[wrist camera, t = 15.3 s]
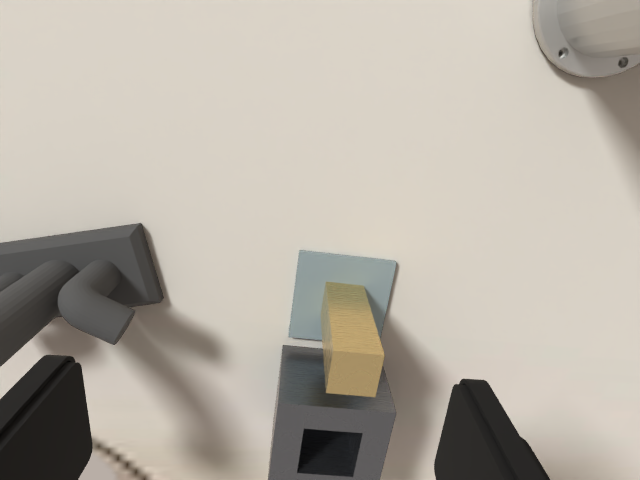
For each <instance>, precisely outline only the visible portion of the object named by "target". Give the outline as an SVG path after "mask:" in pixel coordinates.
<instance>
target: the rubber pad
mask: <svg viewBox="0 0 640 480" xmlns="http://www.w3.org/2000/svg"><path fill="white" fill-rule="evenodd" d="M395 268H396V261H391V260H383V259H374V258H365V257H356V256H347V255H339V254H330V253H321V252H312V251H303V250H300V251H299V258H298V266H297V274H296V282H295V290H294V297H293V305H292V313H291V321H290V329H289V337H293V338H303V339H314V340H322V330H321V316H320V315H321V309H322V302H323V296H324V289H325V283H326V282H335V283H344V284H353V285H362V286H364V288H365V292H366V295H367V298H368V302H369V305H370V308H371V312H372V315H373V318H374V321H375V325H376V328H377V331H378V335H379V338H380V337H381V333H382V328H383V323H384V319H385V314H386V310H387V305H388V300H389V296H390V291H391V286H392V282H393V277H394V273H395Z"/></svg>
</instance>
